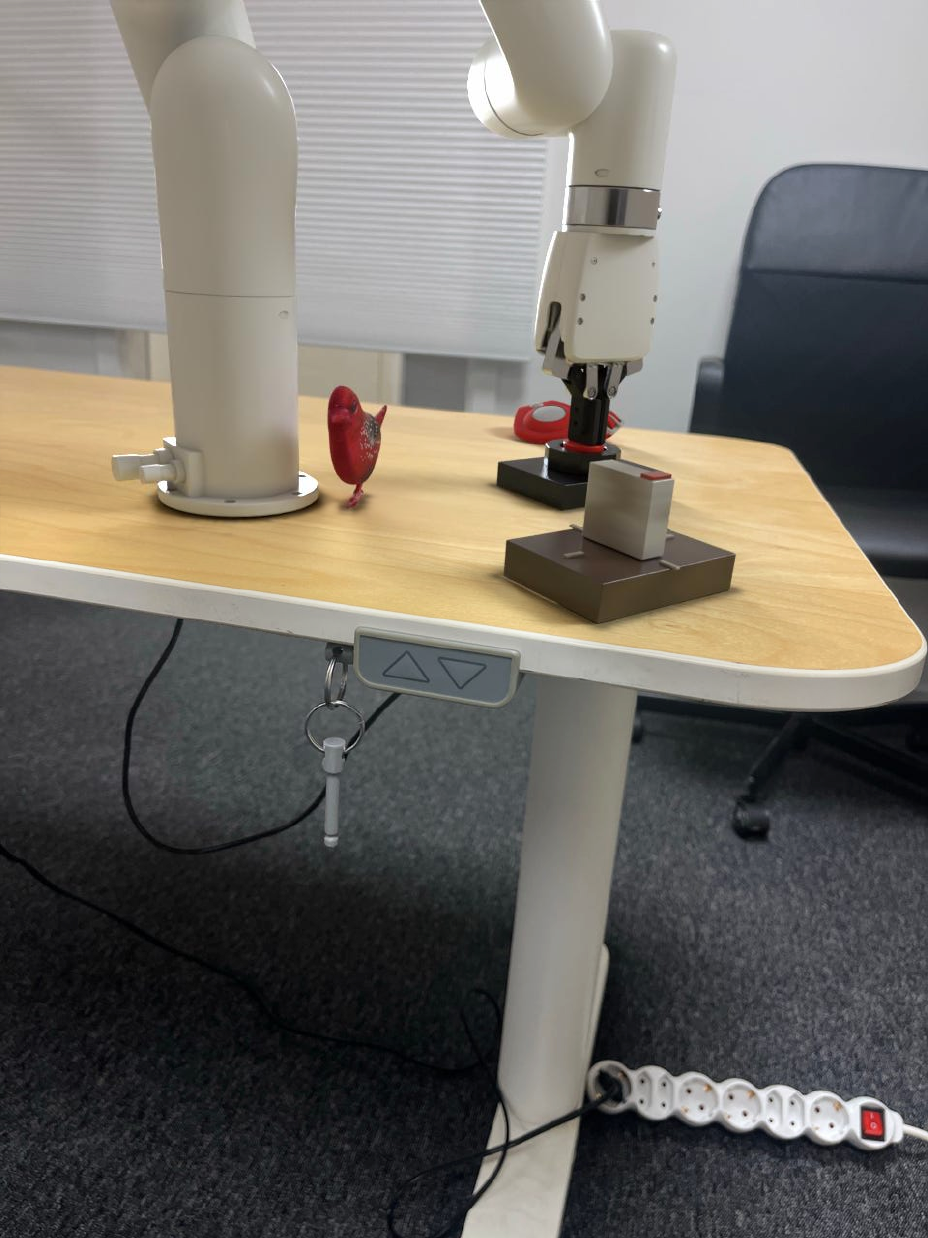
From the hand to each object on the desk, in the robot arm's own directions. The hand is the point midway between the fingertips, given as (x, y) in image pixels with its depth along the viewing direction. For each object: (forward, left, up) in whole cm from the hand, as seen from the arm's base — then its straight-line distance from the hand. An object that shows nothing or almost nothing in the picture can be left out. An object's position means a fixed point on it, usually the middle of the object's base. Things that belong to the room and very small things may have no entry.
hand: (585, 442), depth 79 cm
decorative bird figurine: (-19, +6, -5) cm, 21 cm away
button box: (0, 0, -4) cm, 4 cm away
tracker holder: (+14, +18, -5) cm, 23 cm away
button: (0, 0, -2) cm, 2 cm away
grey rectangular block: (-14, -19, -2) cm, 24 cm away
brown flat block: (-14, -19, -4) cm, 24 cm away
